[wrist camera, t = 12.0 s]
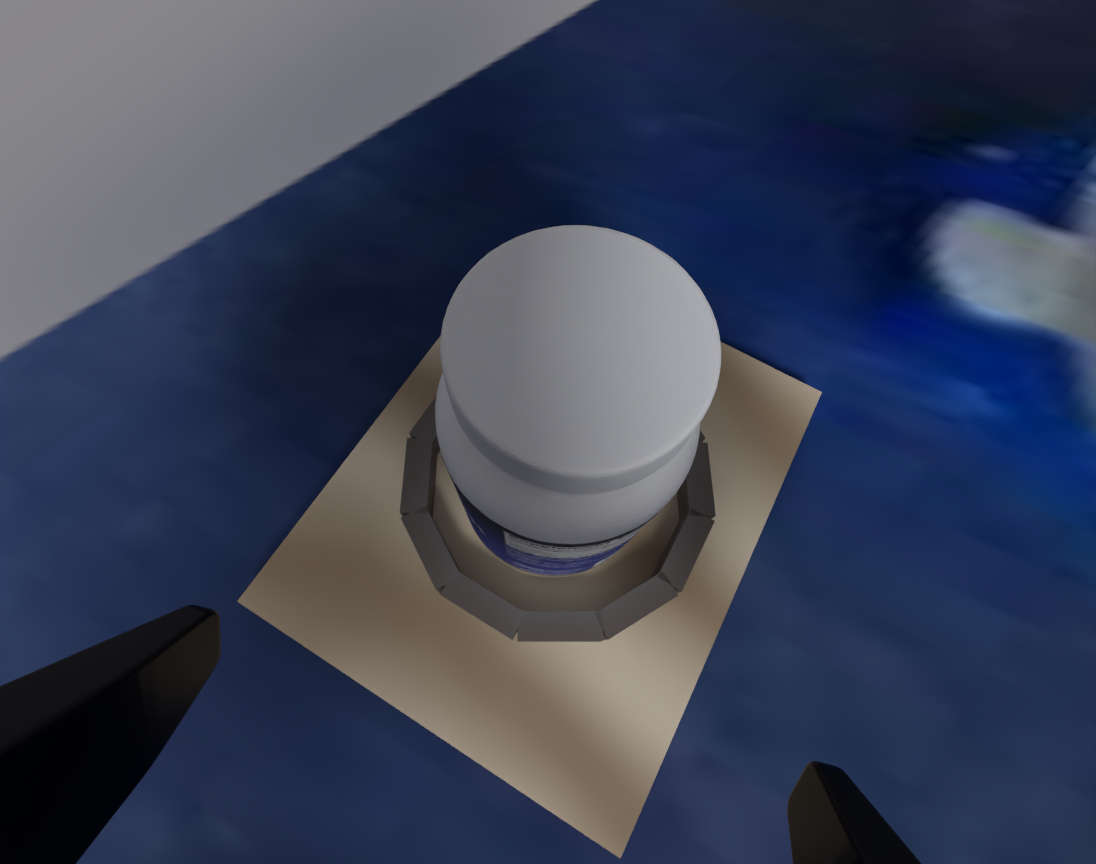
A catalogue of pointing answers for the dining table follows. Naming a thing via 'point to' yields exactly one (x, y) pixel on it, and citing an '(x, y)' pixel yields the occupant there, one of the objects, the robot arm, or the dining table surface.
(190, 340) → the dining table surface
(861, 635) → the dining table surface
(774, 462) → the collar board
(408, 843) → the dining table surface
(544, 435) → the pill bottle
